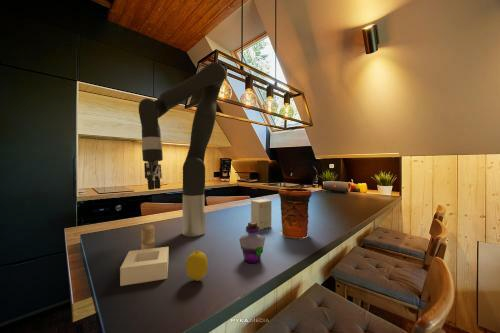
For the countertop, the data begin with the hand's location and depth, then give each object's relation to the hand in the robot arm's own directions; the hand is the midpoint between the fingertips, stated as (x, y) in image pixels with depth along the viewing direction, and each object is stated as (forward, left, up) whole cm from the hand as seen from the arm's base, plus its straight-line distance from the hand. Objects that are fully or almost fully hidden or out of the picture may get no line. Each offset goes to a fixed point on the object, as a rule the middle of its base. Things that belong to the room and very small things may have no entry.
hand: (154, 189), depth 87 cm
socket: (0, +28, -20) cm, 35 cm away
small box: (-47, -2, -20) cm, 52 cm away
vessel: (-57, +12, -20) cm, 62 cm away
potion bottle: (-31, +30, -20) cm, 48 cm away
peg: (+1, +17, -20) cm, 26 cm away
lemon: (-13, +37, -20) cm, 44 cm away
